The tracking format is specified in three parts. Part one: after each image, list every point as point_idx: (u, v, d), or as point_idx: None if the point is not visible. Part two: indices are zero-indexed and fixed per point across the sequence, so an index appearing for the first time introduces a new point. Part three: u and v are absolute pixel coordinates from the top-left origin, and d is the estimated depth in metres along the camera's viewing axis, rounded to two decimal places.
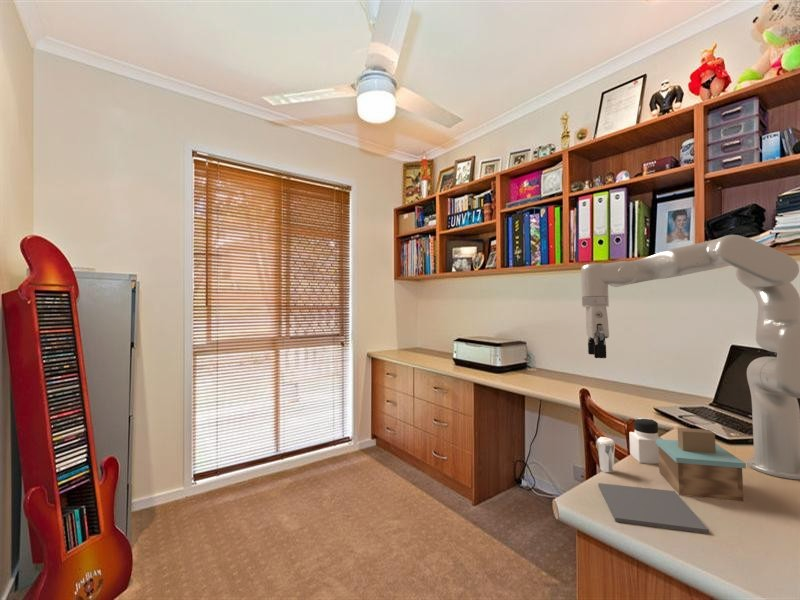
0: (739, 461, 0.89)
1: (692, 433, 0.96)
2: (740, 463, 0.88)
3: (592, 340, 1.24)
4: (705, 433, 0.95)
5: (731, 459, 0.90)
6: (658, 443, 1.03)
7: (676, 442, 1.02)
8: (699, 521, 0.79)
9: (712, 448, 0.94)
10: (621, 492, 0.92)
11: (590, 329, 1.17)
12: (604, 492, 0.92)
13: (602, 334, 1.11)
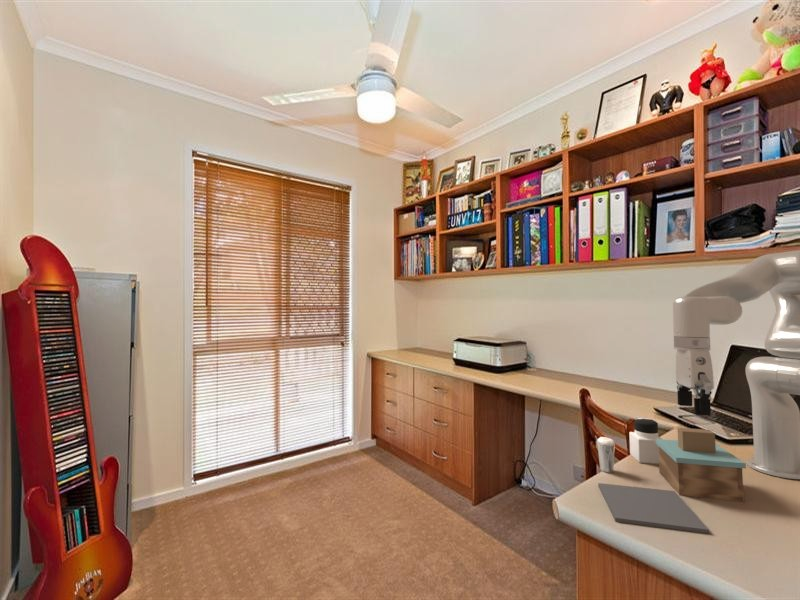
0: (739, 461, 0.89)
1: (692, 433, 0.96)
2: (740, 463, 0.88)
3: (683, 388, 1.02)
4: (705, 433, 0.95)
5: (731, 459, 0.90)
6: (658, 443, 1.03)
7: (676, 442, 1.02)
8: (699, 521, 0.79)
9: (712, 448, 0.94)
10: (621, 492, 0.92)
11: (688, 378, 0.95)
12: (604, 492, 0.92)
13: (709, 387, 0.89)
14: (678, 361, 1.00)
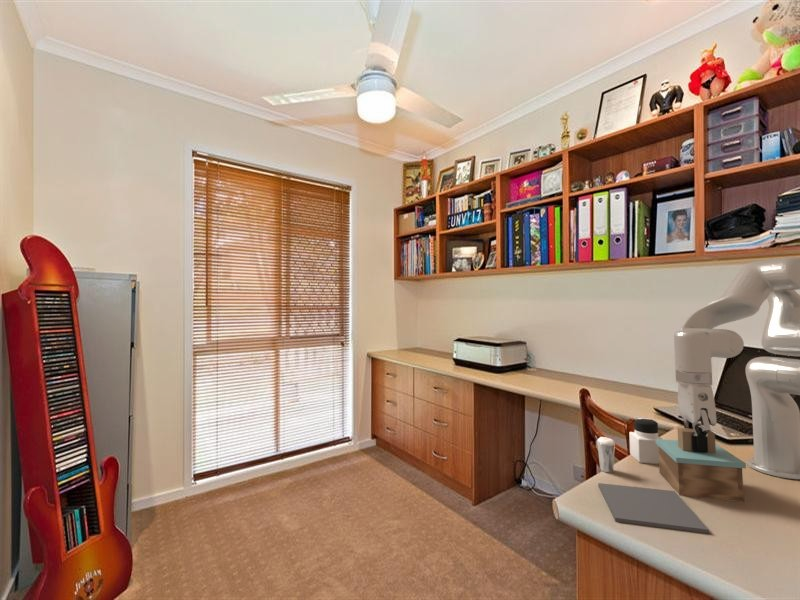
0: (739, 461, 0.89)
1: (692, 433, 0.96)
2: (740, 463, 0.88)
3: (691, 427, 0.99)
4: None
5: (731, 459, 0.90)
6: (658, 443, 1.03)
7: (676, 442, 1.02)
8: (699, 521, 0.79)
9: (712, 448, 0.94)
10: (621, 492, 0.92)
11: (690, 413, 0.95)
12: (604, 492, 0.92)
13: (707, 431, 0.91)
14: (680, 394, 0.99)
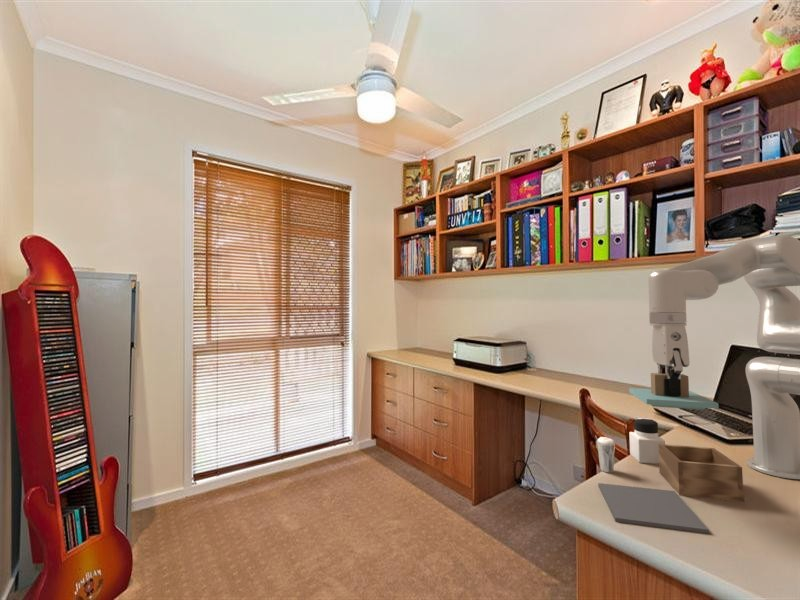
0: (712, 402, 0.85)
1: (665, 376, 0.92)
2: (712, 403, 0.84)
3: (664, 372, 0.95)
4: None
5: (704, 400, 0.86)
6: (631, 391, 0.99)
7: (650, 390, 0.98)
8: (699, 521, 0.79)
9: (685, 392, 0.90)
10: (621, 492, 0.92)
11: (663, 354, 0.90)
12: (604, 492, 0.92)
13: (679, 371, 0.87)
14: (654, 338, 0.95)
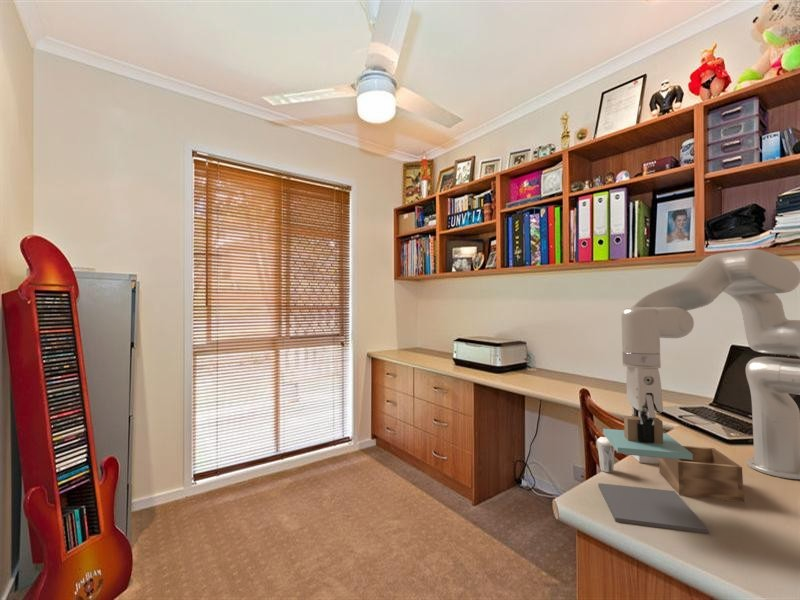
0: (686, 452, 0.79)
1: (638, 421, 0.86)
2: (686, 454, 0.79)
3: (638, 415, 0.89)
4: None
5: (678, 449, 0.81)
6: (605, 433, 0.94)
7: (624, 432, 0.93)
8: (699, 521, 0.79)
9: (659, 438, 0.85)
10: (621, 492, 0.92)
11: (635, 399, 0.85)
12: (604, 492, 0.92)
13: (652, 418, 0.82)
14: (627, 379, 0.90)
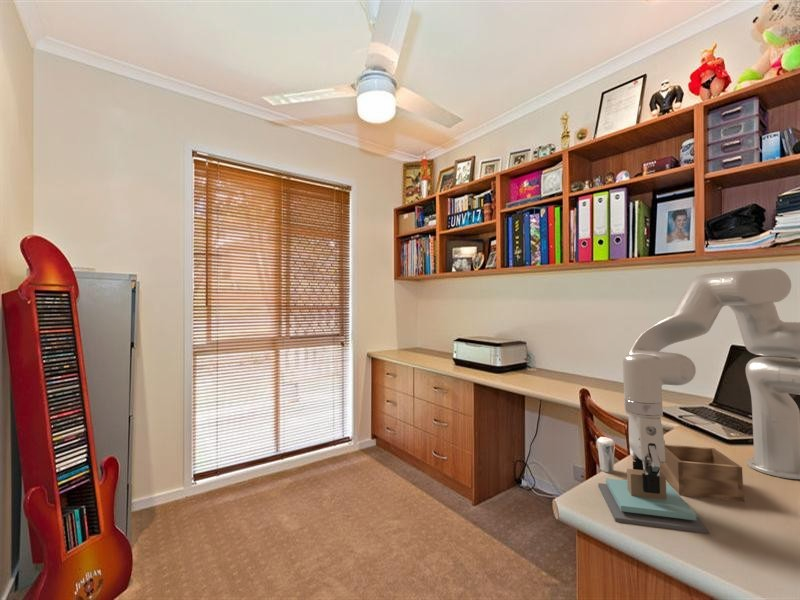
0: (690, 511, 0.79)
1: (641, 476, 0.86)
2: (690, 514, 0.78)
3: (639, 458, 0.90)
4: None
5: (681, 508, 0.81)
6: (608, 484, 0.93)
7: (627, 483, 0.92)
8: (699, 521, 0.79)
9: (663, 494, 0.85)
10: None
11: (638, 448, 0.85)
12: (604, 492, 0.92)
13: (656, 468, 0.80)
14: (630, 425, 0.90)
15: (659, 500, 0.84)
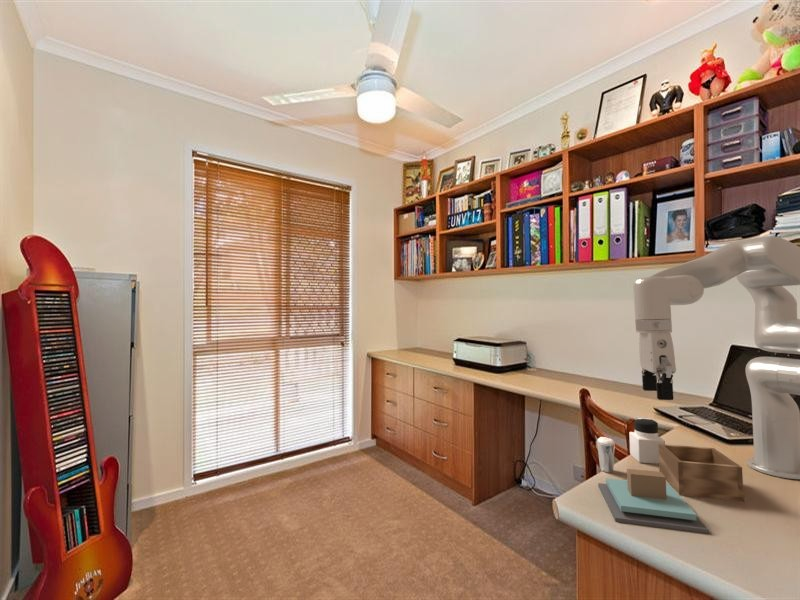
0: (690, 511, 0.79)
1: (641, 476, 0.86)
2: (690, 514, 0.78)
3: (648, 373, 0.98)
4: (655, 477, 0.85)
5: (681, 508, 0.81)
6: (608, 484, 0.93)
7: (627, 483, 0.92)
8: (699, 521, 0.79)
9: (663, 494, 0.85)
10: None
11: (650, 362, 0.91)
12: (604, 492, 0.92)
13: (670, 370, 0.85)
14: (641, 345, 0.96)
15: (659, 500, 0.84)
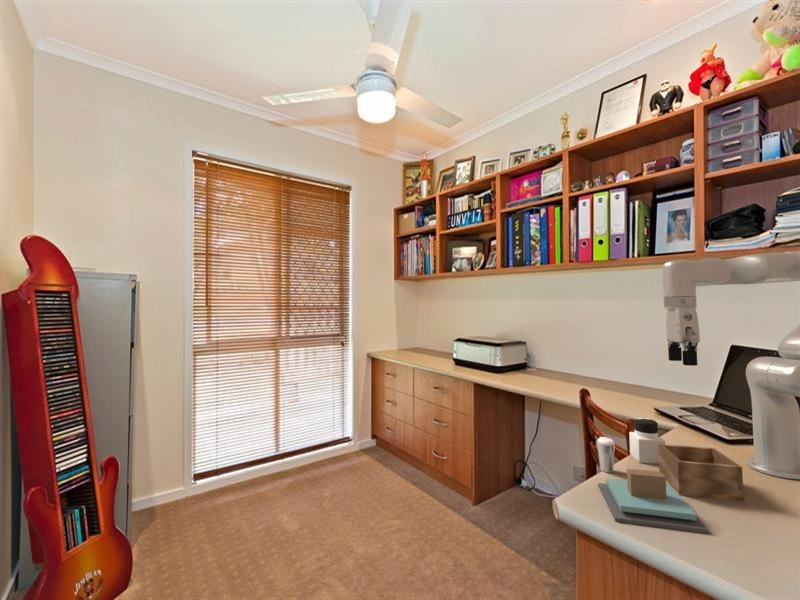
0: (690, 511, 0.79)
1: (641, 476, 0.86)
2: (690, 514, 0.78)
3: (673, 345, 1.12)
4: (655, 477, 0.85)
5: (681, 508, 0.81)
6: (608, 484, 0.93)
7: (627, 483, 0.92)
8: (699, 521, 0.79)
9: (663, 494, 0.85)
10: None
11: (676, 333, 1.05)
12: (604, 492, 0.92)
13: (695, 339, 0.99)
14: (668, 320, 1.10)
15: (659, 500, 0.84)
